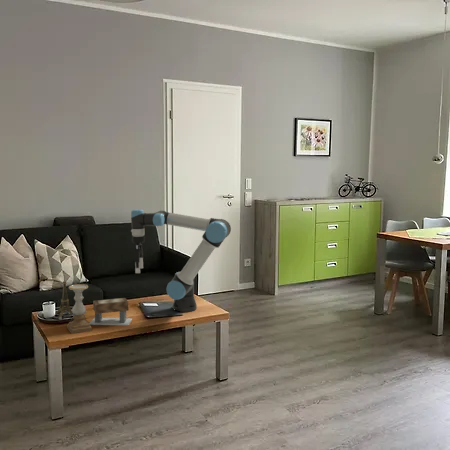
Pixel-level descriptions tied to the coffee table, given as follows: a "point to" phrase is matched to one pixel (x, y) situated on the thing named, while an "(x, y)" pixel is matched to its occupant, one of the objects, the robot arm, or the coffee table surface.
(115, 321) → the board
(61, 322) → the coffee table surface
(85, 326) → the candle holder
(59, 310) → the eiffel tower
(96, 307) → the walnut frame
